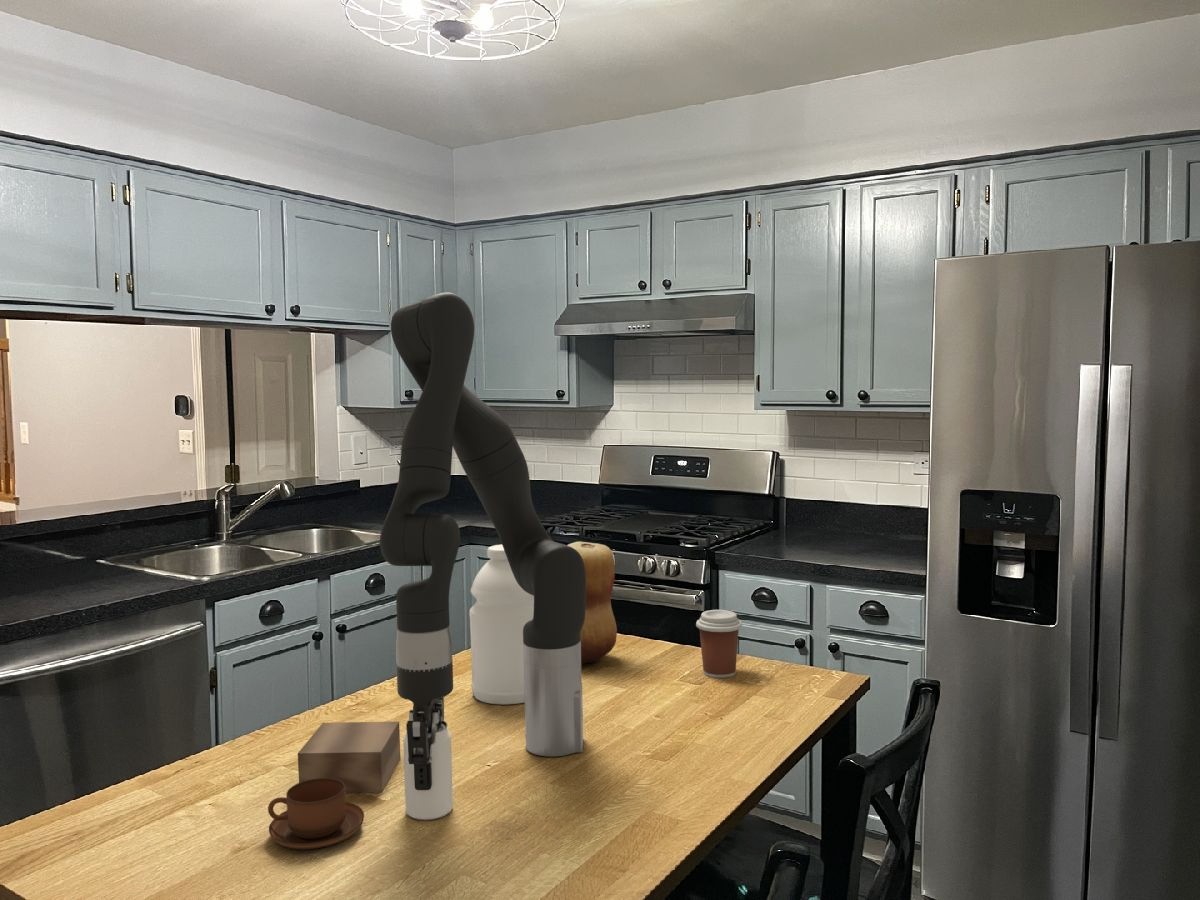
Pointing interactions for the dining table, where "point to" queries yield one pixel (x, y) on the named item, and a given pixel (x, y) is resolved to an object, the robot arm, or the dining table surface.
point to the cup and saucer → (314, 815)
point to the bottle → (498, 631)
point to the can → (441, 792)
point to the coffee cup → (719, 642)
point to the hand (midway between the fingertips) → (428, 777)
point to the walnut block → (352, 754)
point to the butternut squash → (597, 601)
